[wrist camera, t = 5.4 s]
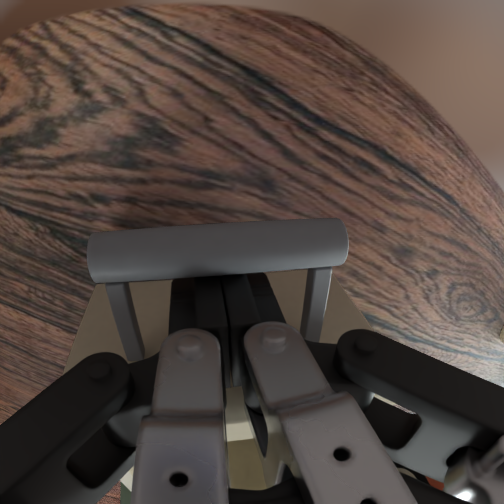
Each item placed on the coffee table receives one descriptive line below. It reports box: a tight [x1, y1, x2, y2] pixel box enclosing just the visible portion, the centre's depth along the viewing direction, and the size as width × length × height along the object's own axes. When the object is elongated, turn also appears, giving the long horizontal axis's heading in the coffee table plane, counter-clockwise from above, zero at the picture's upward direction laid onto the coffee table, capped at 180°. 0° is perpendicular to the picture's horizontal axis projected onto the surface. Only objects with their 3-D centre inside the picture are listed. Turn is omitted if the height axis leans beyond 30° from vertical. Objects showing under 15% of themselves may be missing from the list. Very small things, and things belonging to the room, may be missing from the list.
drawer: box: [63, 218, 396, 491], centre depth 13 cm, size 17×11×8 cm
